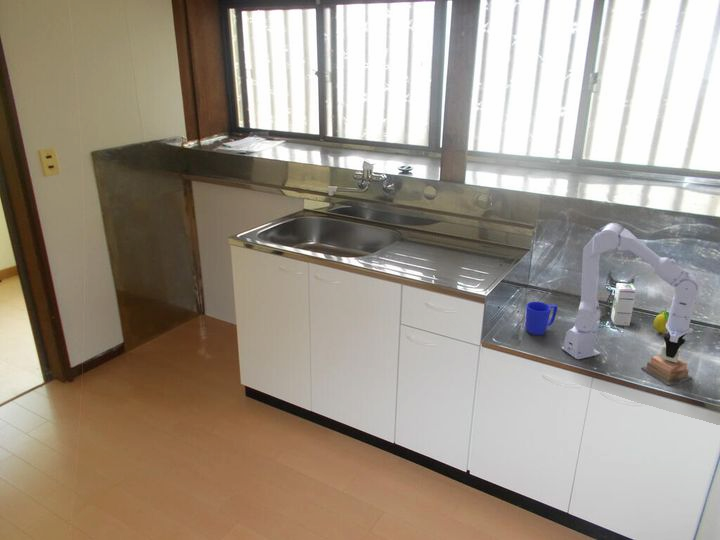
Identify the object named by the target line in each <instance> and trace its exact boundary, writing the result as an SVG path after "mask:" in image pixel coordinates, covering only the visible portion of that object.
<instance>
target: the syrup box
mask: <svg viewBox="0 0 720 540" xmlns="http://www.w3.org/2000/svg"><path fill="white" fill-rule="evenodd" d="M636 293H637V290H636V288H635V285H634V284H632V283H628V282H627V283H626V282H625V283H624V282H621V283H619V282H616V286H615V290H614V297H613V302H612V307H611V312H610V319H611V321H612V324H613V325H615V326H622V327H627V326H628V327H630V325H631V320H632V314H633V309H634V303H635V298H636Z"/></svg>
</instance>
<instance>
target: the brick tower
mask: <svg viewBox="0 0 720 540" xmlns="http://www.w3.org/2000/svg"><path fill="white" fill-rule="evenodd" d="M687 367H688V362H686V361H684V360H682V359H680V357H678V360H677V363H676V362H672V361H668V360H665V359H661V353H660V354H657V355H654V356H651V357H650V361H648V362H647V363H646V366H641V367H640V368H641V370H642V371H643V372H644V373H647V374H649V375H650V376H651V377H653V378H654V379H657V381H659V382H661V383H662V382H663V383H662V384H664V383H665V384H664V385H666V386H667V385H669V386H671V385H675V384H680V383H683V382H687V381H690V380H693V377H692V376H691V375H689V371H690V370H689V369H687Z"/></svg>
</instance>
